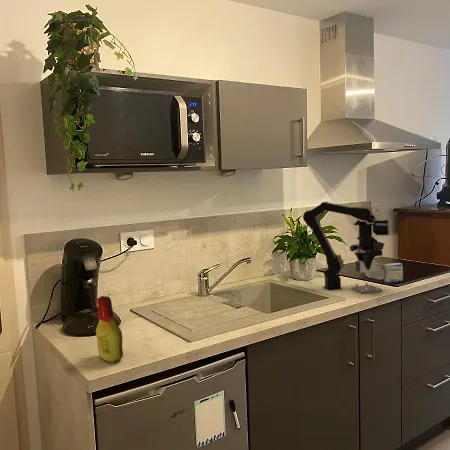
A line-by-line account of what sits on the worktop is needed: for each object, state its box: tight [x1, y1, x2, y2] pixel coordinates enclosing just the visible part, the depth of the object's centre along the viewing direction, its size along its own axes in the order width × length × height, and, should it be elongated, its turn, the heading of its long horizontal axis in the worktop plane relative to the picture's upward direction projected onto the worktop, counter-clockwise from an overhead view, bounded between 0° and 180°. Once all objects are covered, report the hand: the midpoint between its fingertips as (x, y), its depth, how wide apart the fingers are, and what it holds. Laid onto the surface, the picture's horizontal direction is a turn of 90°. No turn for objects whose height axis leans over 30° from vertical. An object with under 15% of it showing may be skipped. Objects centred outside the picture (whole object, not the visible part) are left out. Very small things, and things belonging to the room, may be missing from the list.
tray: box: [350, 282, 383, 295], centre depth 214 cm, size 10×10×2 cm
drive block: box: [355, 259, 377, 273], centre depth 213 cm, size 8×4×5 cm, turn 103°
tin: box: [363, 262, 386, 282], centre depth 234 cm, size 15×3×8 cm, turn 28°
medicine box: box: [383, 262, 404, 284], centre depth 228 cm, size 8×4×9 cm, turn 105°
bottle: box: [95, 295, 124, 363], centre depth 145 cm, size 12×6×20 cm, turn 38°
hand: (365, 268), depth 213 cm, fingers closed on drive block, 4 cm apart
